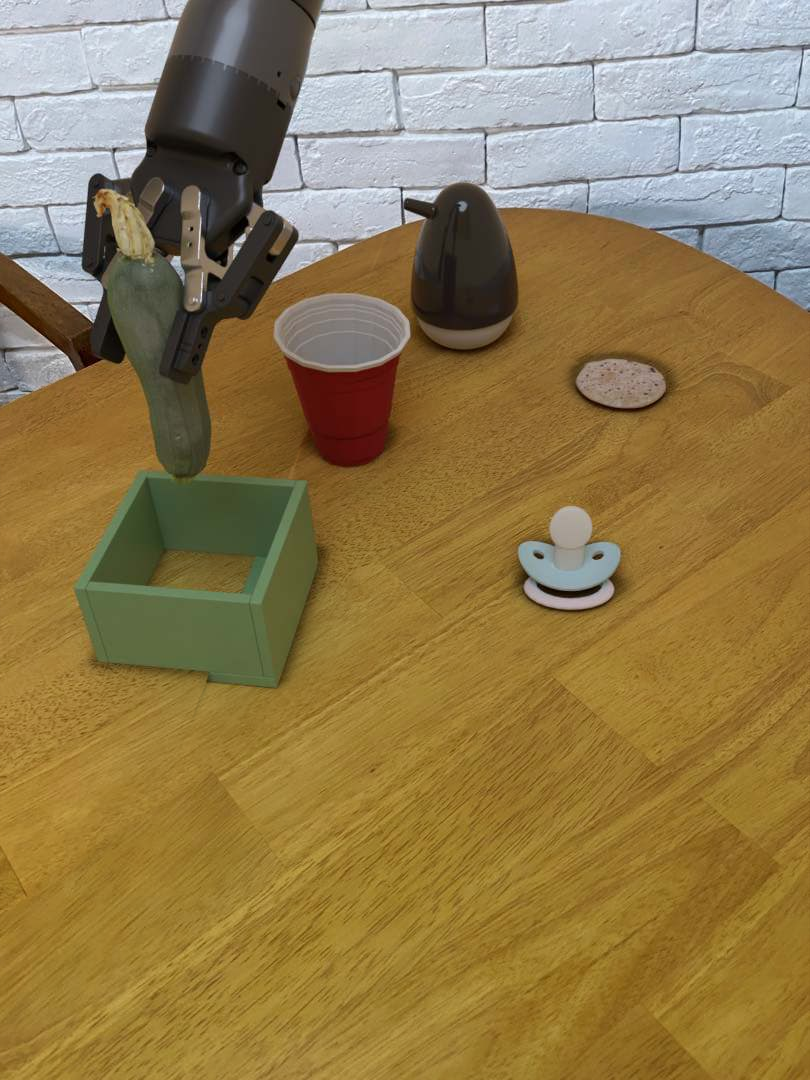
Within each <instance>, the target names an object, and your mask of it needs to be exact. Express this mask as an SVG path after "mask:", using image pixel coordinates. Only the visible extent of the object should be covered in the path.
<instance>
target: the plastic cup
mask: <svg viewBox="0 0 810 1080" xmlns="http://www.w3.org/2000/svg"><path fill="white" fill-rule="evenodd" d="M273 327H274V328H273V340H274V342H275V344H276V345H277V347H278V349H280V351H281V352H282V354H283V358H284V359H285V361H286V364H287V368H288V370H289V372H290V374H291V378H292V381H293V384H294V387H295V390H296V394H297V396H298V399H299V402H300V406H301V408H302V411H303V415H304V419H305V421H306V423H307V425H308V427H309V429H310V433H311V436H312V439H313V442H314V446H315V447H316V449H317V451H318V453H319V455H320V456H321V457H322V459H323V460H324V461H325V462H327V463H329V464H331V465H333V466H339V467H343V468H344V467H345V468H349V467H360V466H363V465H366V464H369V463H371V462H373V461H375V460H376V459H377V458H379V457H380V456H381V455H382V453H383V452H384V450H385V446H386V443H387V440H388V439H387V438H388V432H389V431H388V429H389V420H390V418H391V414H392V406H393V399H394V393H395V384H396V377H397V369H398V366H399V363H400V359H401V355H402V354H403V350H404V348H405V347H406V345H407V344H408V343H409V340H410V338H411V327H410V320H409V319H408V318H407V317H406V316H405V314H404V313H403V312H402V311H401V310H400V308H399V307H397V306H395V305H393V304H391V303H389V302H387V301H385V300H383V299H381V298H379V297H375V296H370V295H365V294H361V293H356V292H351V293H349V292H347V293H345V292H344V293H341V292H340V293H339V292H337V293H334V292H333V293H332V292H330V293H325V294H321V295H317V296H312V297H307V298H304V299H301V300H300V301H298V302H296V303H295V304H293V305H291V306H288V307H287V308H285V309H284V310H283V312H282V313H281V314H280V315H279V316H278V318H277V319H276V320H275V321H274V326H273Z"/></svg>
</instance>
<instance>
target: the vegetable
mask: <svg viewBox="0 0 810 1080" xmlns="http://www.w3.org/2000/svg"><path fill="white" fill-rule="evenodd" d="M94 197H95V202H94V206H95V208H96V211H97V213H98V214H97V217H101V216H102V213H103V212H104V211H105V207H104V206H103V205H104V204H105V206H106V207H107V208H109V209H110V211H111V216H112V226H113V229H114V232H115V237H116V241H117V242H118V246H119V247H120V248H121V249H120V248H117V251H121V252H123V254H124V256H122V257H121V258H118V259H117V261H116V263H115V264H114V265H113V267H112V268H111V271H110V274H109V277H108V282H107V297H108V305H109V309H110V312H111V316H112V319H113V322H114V325H115V328H116V331H117V333H118V335H119V338H120V340H121V342H122V345H123V347H124V350H125V352H126V354H125V356H126V357H127V359H128V361H129V363H130V365H131V366H132V368H133V371H134V372H135V374H136V375H137V377H138V380H139V382H140V384H141V388H142V390H143V393H144V397H145V401H146V403H147V408H148V415H149V422H150V428H151V433H152V437H153V442H154V446H155V454H156V457H157V460H158V462H159V463H160V464H161V465H162V467H163V469H164V471H165V472H167V473H168V474H171V479H172V482H173V483H178V482H180V483H182V484H185V483H189V482H190V481H192V480H193V479H194V478H195V477H196V475H197V474H201V473H202V472H203V471H204V469H205V468H206V466H207V462H208V460H209V457H210V452H211V445H212V429H213V427H212V420H211V414H210V413H211V412H210V409H209V403H208V400H207V395H206V387H205V384H204V375H203V368H202V367H201V369H200V371H199V372H198V373H197V375H196V376H195V377H194V376H192V378H191V381H190V382H189V383H188V384H186V385H185V384H181V383H178V382H174V381H172V380H170V379H167V378H165V377H162V376H161V375H160V373H159V366H160V363H161V360H162V357H163V354H164V350H165V347H166V344H167V341H168V338H169V335H170V332H171V329H172V326H173V323H174V319H175V316H176V313H177V311H181V312H185V308H184V305H183V295H184V282H183V280H182V278H181V276H180V275H179V273H178V271H177V270H176V268H175V267H174V266H173V265H172V263H171V262H169V261H168V260H167V259H166V258H164V257H163V256H162V255H160V254H158V253H156V252H153V248H154V245H155V242H154V239H153V237H152V235H151V233H150V231H149V229H148V228H147V226H146V223H145V220H144V217H143V215H142V214H141V212H140V211H139V210H138V208H136V207H135V205H134V204H132V203H131V202H129V201H128V200H129V198H127V197H125V196H122V195H120V194H118V193H117V192H116V191H115V190H110V189H101V190H99V192H98V193H97V195H96V196H94ZM94 197H93V198H94Z"/></svg>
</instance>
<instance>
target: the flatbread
mask: <svg viewBox="0 0 810 1080" xmlns="http://www.w3.org/2000/svg"><path fill="white" fill-rule="evenodd" d="M575 386H576V387H577V389H578V390H579V391H580V393H581V394H582V395H583V396H584V397H585V398H587V399H589V400H590V401H592V402H595V403H598V404H600V405H603V406H607V407H611V408H617V409H638V408H643V407H647V406H649V405H651V404H653V403H655V402H656V401H658V400H659V399H660V398H661V397H662V396H663V395H664V394H665V392H666V390H667V384H666V380H665V376H664V375H663V374H662V373H661V372H660V371H659V370H658V369H656V368H655V367H654V366H651V365H648V364H646V363H645V364H644V363H641V362H636V361H632V360H628V359H621V358H620V359H619V358H605V359H603V360H595V361H589V362H587V363H585V364H584V366H583V368H582V369H581V371H579V373H578V375H577V376H576V378H575Z"/></svg>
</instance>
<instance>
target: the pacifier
mask: <svg viewBox="0 0 810 1080" xmlns="http://www.w3.org/2000/svg"><path fill="white" fill-rule="evenodd" d="M592 522H593V521H592V519H591V517H590V515H589V514H588V512H586V510H584V509H583V508H581V507H579V506H576V505H566V506H564V507H561V508H559V509H558V510H557V511H556V512H555V513H554V514H553V515H552V517H551V520H550V522H549V530H548V531H549V537H550V539H551V540H552V542H553V543H554V545H552V544H549V543H546V542H542V541H533V540H530V541H524V542H522V543H521V544H520V545H519V546H518V549H517V556H518V557H517V558H518V561H519V563H520V565H521V567H522V568H523V570H524V571H525V573H526V574H527V575H528V576H529V577H528V578H527V579H526V580H525V581H524V585H523V589H524V593H525V594H526V596H528V598H529V599H531V600H532V601H534V602H535V603H537V604H539V605H542V606H544V607H546V608H547V607H548V608H552V609H557V610H567V611H575V610H576V611H577V610H586V609H591V608H596V607H597V606H601V605H603V604H604V603H607V602H608V601H609V600H610V599H611V598H612V597H613V595H614V593H615V587H614V584H613V582H612V581H611V580H610V578H611V576H613V574H614V573H615V572H616V570H617V569H618V567H619V564H620V562H621V556H622V554H621V549H620V547H619V546H618V545H617V544H615V543H613V542H611V541H599V542H593V543H589V544H587V543H588V542H589V541H590V539H591V537H592V533H593V523H592ZM534 554H540V555H541V556H542V557H543V558H538V557H536V556H535V555H534ZM596 555H603V556H602V557H601V558H600V559H594V557H595V556H596ZM539 584H540V585H542V586H545V587H548V588H550V589H554V590H557V591H566V592H576V591H583V590H587V589H591V588H593V587H596V586H599V587H600V589H599V590H598V591H597V592H595V593H593V594H590V595H586V596H581V597H571V598H570V597H561V596H555V595H552V594H549V593H546V592H544V591H543V590H541V589H540V588H539V587H538V585H539Z"/></svg>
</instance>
